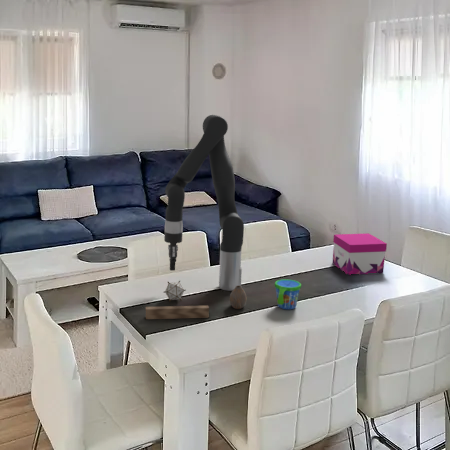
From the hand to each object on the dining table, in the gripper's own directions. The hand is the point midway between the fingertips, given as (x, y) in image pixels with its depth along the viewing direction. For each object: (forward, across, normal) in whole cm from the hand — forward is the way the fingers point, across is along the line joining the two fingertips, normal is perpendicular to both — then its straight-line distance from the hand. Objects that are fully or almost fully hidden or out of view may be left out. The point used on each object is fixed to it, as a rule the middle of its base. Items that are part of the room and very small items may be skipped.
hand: (172, 269), depth 262 cm
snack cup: (+9, -21, -46) cm, 51 cm away
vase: (+9, -20, -26) cm, 34 cm away
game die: (+10, -11, -1) cm, 15 cm away
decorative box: (+8, +27, -93) cm, 97 cm away
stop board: (+10, -29, -1) cm, 31 cm away
